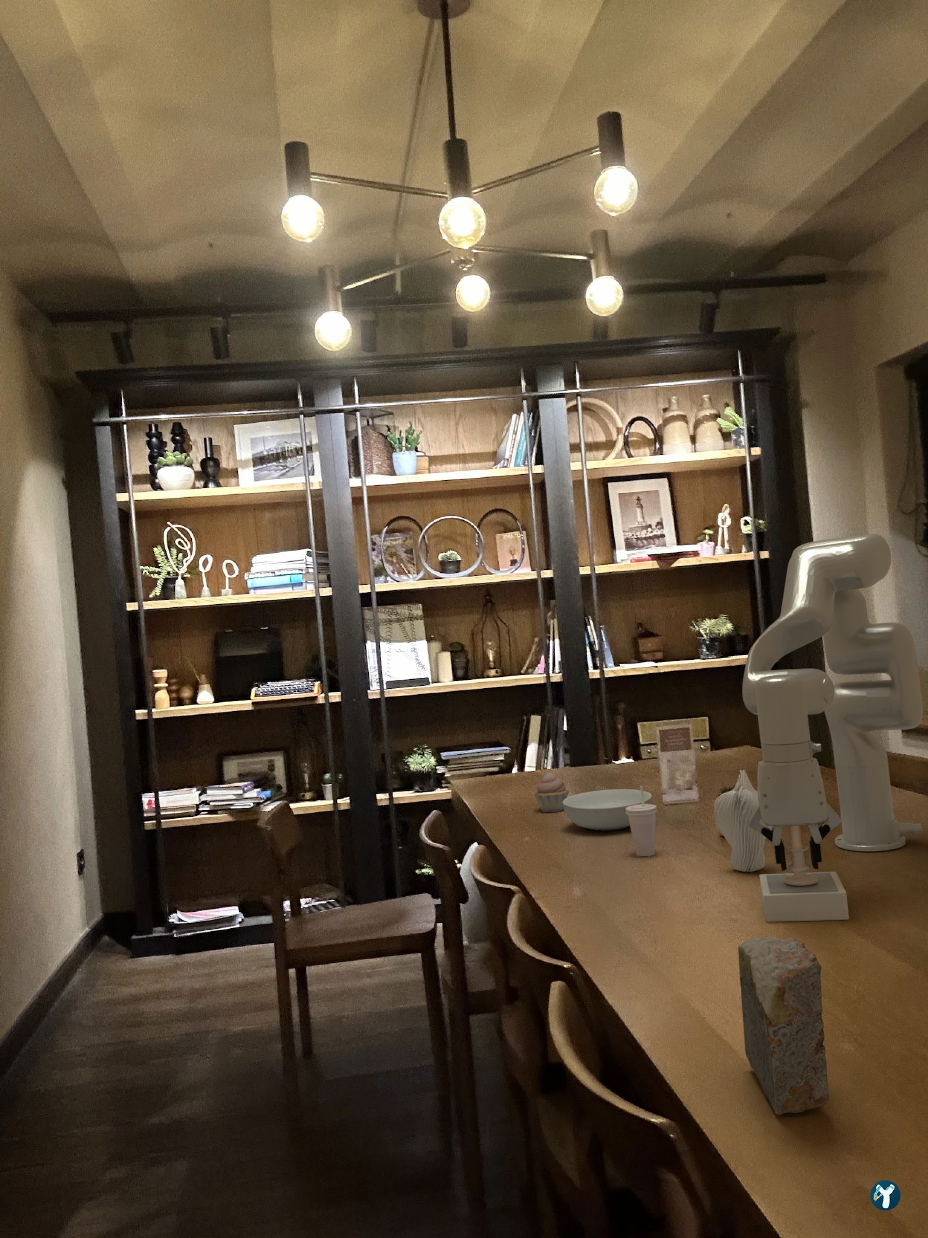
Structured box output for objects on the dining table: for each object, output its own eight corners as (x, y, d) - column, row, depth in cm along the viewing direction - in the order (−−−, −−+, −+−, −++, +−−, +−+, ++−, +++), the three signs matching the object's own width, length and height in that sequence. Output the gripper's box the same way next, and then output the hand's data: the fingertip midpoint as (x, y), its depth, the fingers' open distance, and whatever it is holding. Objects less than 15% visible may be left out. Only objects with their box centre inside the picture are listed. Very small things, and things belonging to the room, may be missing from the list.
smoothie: (661, 857, 193) (654, 788, 193) (629, 859, 194) (622, 790, 195) (661, 849, 199) (654, 782, 200) (630, 851, 201) (623, 784, 201)
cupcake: (577, 806, 254) (573, 769, 255) (561, 814, 247) (557, 775, 247) (546, 806, 259) (542, 769, 260) (529, 813, 252) (525, 775, 252)
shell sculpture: (750, 878, 172) (739, 778, 172) (718, 870, 179) (707, 774, 180) (783, 869, 176) (773, 771, 176) (751, 861, 183) (741, 767, 183)
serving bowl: (554, 838, 221) (551, 808, 221) (578, 818, 240) (576, 790, 240) (645, 836, 213) (641, 805, 213) (662, 816, 232) (659, 787, 232)
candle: (814, 886, 149) (806, 819, 149) (780, 885, 152) (772, 819, 152) (821, 877, 154) (814, 812, 154) (788, 875, 156) (781, 812, 156)
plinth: (838, 896, 157) (835, 870, 157) (849, 919, 145) (846, 892, 145) (761, 898, 160) (759, 873, 160) (766, 921, 148) (763, 895, 148)
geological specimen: (744, 1069, 102) (729, 928, 103) (802, 1063, 102) (787, 922, 102) (773, 1120, 92) (756, 963, 92) (838, 1115, 92) (821, 957, 92)
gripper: (839, 745, 155) (852, 859, 154) (731, 753, 159) (743, 863, 158) (846, 752, 147) (859, 872, 147) (732, 760, 151) (745, 876, 151)
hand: (799, 866), depth 153 cm, fingers open, 4 cm apart
